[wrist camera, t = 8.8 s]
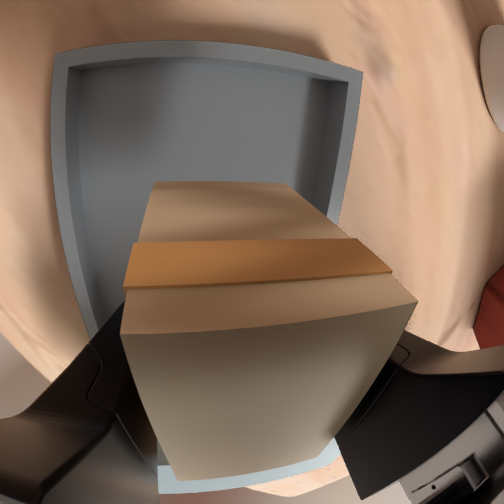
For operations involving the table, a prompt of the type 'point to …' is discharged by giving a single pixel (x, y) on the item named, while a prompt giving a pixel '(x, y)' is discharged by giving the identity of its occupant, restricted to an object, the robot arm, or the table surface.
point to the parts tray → (185, 140)
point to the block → (252, 325)
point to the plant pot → (491, 314)
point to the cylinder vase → (493, 71)
